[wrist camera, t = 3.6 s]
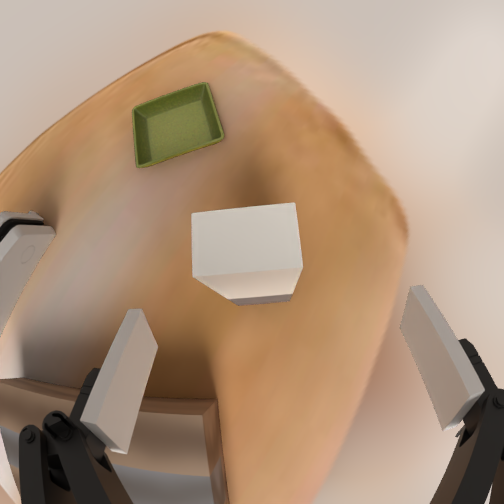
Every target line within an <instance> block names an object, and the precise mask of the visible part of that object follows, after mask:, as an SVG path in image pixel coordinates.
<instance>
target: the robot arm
mask: <svg viewBox="0 0 504 504" xmlns="http://www.w3.org/2000/svg"><path fill="white" fill-rule="evenodd" d="M400 329H401V331H402V333H403V336H404V337H405V340H406V342H407V344H408V346H409V348H410V351H411V353H412V355H413V358H414V360H415V362H416V365H417V367H418V369H419V371H420V374H421V376H422V379H423V381H424V383H425V386H426V388H427V391H428V393H429V396H430V398H431V401H432V403H433V406H434V409H435V411H436V414H437V417H438V420H439V422H440V425H441V428H442V430H443V431H445V430H448V429H450V428H453V427H456V426H457V425H458V424H459V423H460V422H461V421H462V419H463V421H464V423H465V425H464V426H463V427H462V428H461V430H460V431H459V432H458V433H457V435H456V436H455V437H458V436H459V435H460V437H459V439H458V443H457V445H456V448H455V450H454V453H453V455H452V458H451V460H450V462H449V465H448V467H447V469H446V472H445V474H444V476H443V478H442V480H441V483H440V484H439V487H438V489H437V491H436V493H435V495H434V497H433V498H432V501H431V502H430V504H484V503H485V501H486V498H487V496H488V493H489V490H490V488H491V485H492V490H491V496H490V502H489V504H504V390H503V389H498V388H497V386H496V385H495V383H494V381H493V379H492V377H491V375H490V374H489V372H488V370H487V368H486V366H485V364H484V363H483V362H482V359H481V358H480V356H478V352H477V351H476V349H475V347H474V346H473V345H472V344H471V343H470V342H469V341H468V340H467V339H461V340H458V339H457V338H456V336H455V334H454V333H453V331H452V329H451V328H450V326H449V324H448V323H447V321H446V319H445V318H444V316H443V315H442V313H441V312H440V310H439V309H438V307H437V305H436V304H435V303H434V301H433V299H432V298H431V296H430V295H429V293H428V292H427V290H426V289H425V288H424V286H423V285H419V286H412V287H410V289H409V293H408V297H407V301H406V306H405V309H404V313H403V317H402V321H401V325H400ZM157 349H158V345H157V343H156V341H155V338H154V336H153V334H152V331H151V329H150V327H149V324H148V322H147V320H146V317H145V315H144V312H143V310H142V309H129V310H128V312H127V314H126V316H125V318H124V320H123V322H122V324H121V326H120V328H119V330H118V332H117V334H116V337H115V339H114V341H113V343H112V345H111V347H110V350H109V352H108V354H107V356H106V358H105V361H104V363H103V365H102V367H101V369H97V368H94V369H93V370H92V371H91V372H90V373H89V374H88V375H87V377H86V379H85V381H84V383H83V387H82V388H81V390H80V394H79V395H78V397H77V399H76V402H75V404H74V407H73V409H72V411H71V414H70V416H69V417H68V416H67V415H66V414H65V413H63V412H62V411H58V410H55V411H52V412H50V413H49V414H47V415H46V417H45V418H44V420H43V423H42V429H43V430H42V431H41V430H40V429H39V428H38V427H37V426H35V425H27V426H25V427H24V428H23V429H22V430H21V432H20V435H19V479H20V493H21V503H22V504H134V503H133V502H132V500H131V498H130V497H129V495H128V493H127V492H126V490H125V488H124V486H123V485H122V483H121V481H120V479H119V477H118V475H117V474H116V472H115V470H114V468H113V466H112V464H111V462H110V460H109V458H108V456H107V454H106V453H105V452H104V451H105V448H106V446H107V447H108V448H109V449H110V450H111V451H113V452H118V453H123V454H127V453H128V449H129V445H130V441H131V437H132V434H133V430H134V426H135V423H136V419H137V415H138V412H139V408H140V405H141V401H142V398H143V395H144V391H145V388H146V385H147V381H148V378H149V375H150V371H151V368H152V365H153V362H154V359H155V355H156V352H157ZM492 482H493V483H492Z"/></svg>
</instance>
